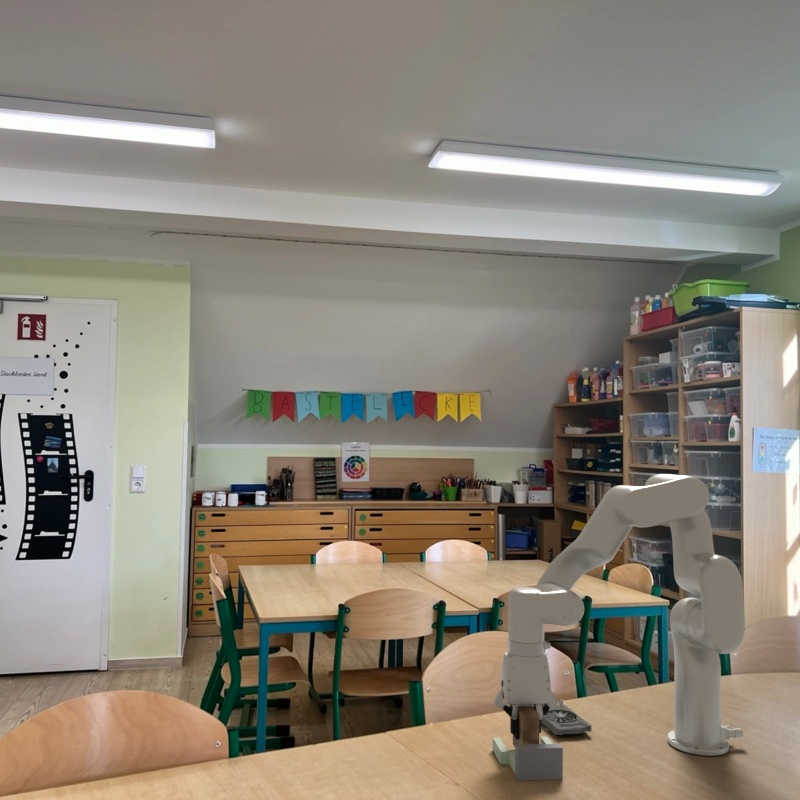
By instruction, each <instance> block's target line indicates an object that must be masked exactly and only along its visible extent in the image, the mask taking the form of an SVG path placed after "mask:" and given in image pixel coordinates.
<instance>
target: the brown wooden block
mask: <svg viewBox="0 0 800 800" xmlns="http://www.w3.org/2000/svg"><path fill="white" fill-rule="evenodd" d="M517 716H518V720H519V740H516V739H515V737H514V736H513V735H512V746H513V747H514V748H515V745H528V744H540V733H539V713H538V712H537V711H536V710H535V708H534V707H533V706H532V705H519V708H518V715H517Z"/></svg>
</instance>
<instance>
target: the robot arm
mask: <svg viewBox="0 0 800 800" xmlns="http://www.w3.org/2000/svg"><path fill="white" fill-rule="evenodd" d="M709 497H710V495H709V489H708V488H707V486H706V484H705V483H704V482H703V481H702V480H700V479H699V478H697V477H695V476H691V475H682V474H680V475H679V474H671V473H670V474H669V473H659V474H654V475H651V476H650V477H649V478H648V479H647V480H646V481H645V484H644V485H643V486H636V485H635V486H633V485H624V484H623V485H622V484H620V485H615V486H613V487H611V488H609V490H607V492H606V493H605V494H604V496H603V497H602V499H601V501H600V502H599V503H598V505H597V507H596V508H595V510H594V511H593V513H592V514H591V516H590V517H589V520H588V521H587V522H586V524H585V526H584V527H583V528H582V530H581V532H580V534H579V535H578V536H577V538H576V539H575V540H573V542H571V543H570V544H569V545H568V546H566V547H565V548H564V550H563V551H561V552H560V553H559V554H558V555H557V556H555V558H554V559H553V560H552V561H551V562H550V564H549V565H548V566H547V568H546V569H545V570H544V572H543V573H542V575H541V576H540V578H539V580H538V582H537V583H536V585H535V586H534V587H527V586H526V587H523V586H522V587H521V586H520V587H514V588H512V589H511V590H510V591H509V593H508V609H507V611H508V612H507V613H508V615H507V617H508V618H507V619H508V620H507V622H508V623H507V624H508V625H507V626H508V627H507V631H508V632H507V635H508V636H507V644H508V645H507V651H505V652H504V653H503V658H502V662H501V663H502V664H501V671H500V681H499V682H500V684H499V692H498V693H497V695H496V696H495V698H494V699H493V704H494V705H495V707H498V708H499V709H501V710H502V711H504V712H505V713H506V714H507V715H508V716H509V719H510V720H509V722H510V723H509V724H510V727H509V728H510V729H509V730H510V731H509V732H510V734H511V735H512V737H513V736H514V737H515V739H516V740H519V720H518V716H517V715H518V708H519V705H533V707H534V708H535V710H536V711H537V712H538V713H539V734H542V723H541V719H543V716H544V715H545V714H546V713H547V712H548V711H549V709H550V708H552V707H554V706H558V705H559V701H557V700H558V699H557V697H555V695H554V693H553V691H552V681H551V672H550V665H549V660H548V659H549V658H548V655H547V653H546V650H547V649H549V650H550V649H551V646H552V644H551V642H550V641H546V640H545V625H553V626H554V625H555V626H561V627H565V626H566V627H569V626H572V625H576V624H577V623H578V622H580V620H582V618H583V616H584V613H585V603H584V602H583V600H582V598H581V597H580V596H579V594H577V593H576V592H574V591H572V589H573V587H574V586H575V584H576V583H577V581H578V580H579V579H580V578H581V577H583V576H584V575H585V574H586V573H588V572H590V571H592V570H594V569H596V568H597V569H598V568H600V567H602V566H604V565H607V564H608V563H610V562H611V561H612V560H614V558H615V556H616V554H617V553H618V551H619V549H620V548H621V547H622V545H623V543H624V542H625V540H626V538H627V537H628V535H629V534H630V532H631V530H632V529H633V527H636V528H650V527H655V526H660V525H664V524H668V525H669V528H670V532H671V540H672V556H673V557H672V558H673V560H672V561H673V563H672V564H673V576H674V580H675V582H676V585H677V586H679V587H680V589H682V590H684V591H686V592H688V593H691V594H694V595H697V596H700V598H696V597H685V598H682V599H680V600H679V601H677V602H676V603H675V604H674V605H673V606H672V609H671V611H670V615H669V626H670V632H671V637H672V638H671V639H672V643H673V653H674V654H673V656H674V658H673V659H674V671H673V674H674V679H673V680H674V681H673V682H674V729H673V730H671V731H669V732H668V733H667V743H668V744H669V745H670V746H672V747H673V748H675V749H678V750H679V751H681V752H685V753H688V754H693V755H698V756H708V757H709V756H710V757H711V756H712V757H715V756H721V755H724V754H727V753H728V752H729V751H730V744H729V742H728V741H727V740H730V738H733V739H735V738H736V739H740V738H741V739H742V738H743V736H744V733H743V730H742V728H739V727H737V728H732V727H731V726H730V725H723V724H722V696H721V695H722V691H721V688H722V686H721V684H722V677H721V675H722V674H721V673H722V671H721V670H722V669H721V668H722V667H721V659H720V658H721V657H720V655H719V654H721V655H726V654H727V655H728V654H731V653H734V652H736V651H737V650H738V649H739V648H740V646H741V645H742V643H743V641H744V637H745V633H746V632H745V631H746V630H745V627H746V624H745V623H746V621H745V619H746V618H745V617H746V616H745V607H744V606H745V604H744V603H745V601H744V598H745V597H744V586H743V585H744V584H743V580H742V579H743V578H742V575H741V573H740V571H739V568H738V567H737V566H736V564H735V563H734V562H733V561H732V560H731V559H730V558H727V557H726V556H723V555H719V554H717V553H715V549H714V540H713V539H714V538H713V530H712V529H713V528H712V524H711V519H710V518H709V516H708V513H707V511H706V510H705V508H706V507H707V505H708V503H709V499H710V498H709Z"/></svg>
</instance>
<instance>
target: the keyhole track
mask: <svg viewBox="0 0 800 800" xmlns="http://www.w3.org/2000/svg"><path fill="white" fill-rule="evenodd" d="M563 750H564V748H563V746H562V745H561V743H553V742H552V740H551V739H550V738H549V737H548V736H540V743H539V744H528V745H515V747H514V749H507V747H506V746H505V743H504V742H503V741H502V739H501V737H499V736H498V737H492V751H493V753H494V754H495V757H496V759H497V760H498V762H499V763H500V765H509V766H510V768H511V771H513V773H514V777H515V779H516V781H520V782H521V781H551V780H552V781H553V780H555V781H557V780H560V781H561V780H564V776H563V775H564V773H563V772H564V766H563V765H564V751H563Z"/></svg>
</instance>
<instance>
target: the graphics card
mask: <svg viewBox="0 0 800 800" xmlns="http://www.w3.org/2000/svg"><path fill="white" fill-rule="evenodd" d="M556 700H557V701H558V704H557V705H556V706H554V707H552V708H550V709H549V711H548V712H547V713H546V714H545V715H544V716H543V719H541V724H542V725H543V726H545V727H546V728H547V729H548V730H549V731H550V732H552V733H553V734H554V735H560V736H562V735H573V736H575V737H577V736H578V737H579V736H581V734H582V733H586V732H588V733H591V732H592V730H593V729H592V725H591V724H590V723H589V722H588V721H587V720H585V719H583V718H582V717H581V716H580V715H579V714H578V713H576V712H575V711H573V710H572V709H571V708H570V707H568V706H567V705H566V704H564V700H563V699H562V698H561V699H556ZM532 706H533V705H532Z"/></svg>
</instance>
